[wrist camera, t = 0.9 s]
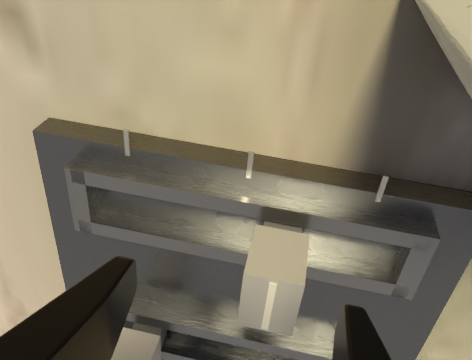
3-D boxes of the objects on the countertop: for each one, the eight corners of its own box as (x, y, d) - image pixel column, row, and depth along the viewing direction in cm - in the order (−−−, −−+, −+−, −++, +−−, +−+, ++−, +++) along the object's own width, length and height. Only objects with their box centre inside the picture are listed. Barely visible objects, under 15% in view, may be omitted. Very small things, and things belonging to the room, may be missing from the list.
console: (495, 177, 20) (514, 213, 17) (380, 398, 31) (383, 437, 28) (45, 100, 22) (13, 123, 20) (87, 329, 33) (69, 361, 31)
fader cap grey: (312, 207, 21) (305, 287, 17) (300, 255, 22) (291, 338, 18) (262, 198, 21) (243, 274, 17) (255, 246, 23) (236, 326, 19)
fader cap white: (171, 308, 27) (140, 385, 23) (171, 343, 29) (143, 419, 25) (134, 300, 27) (98, 374, 23) (137, 335, 29) (104, 409, 25)
